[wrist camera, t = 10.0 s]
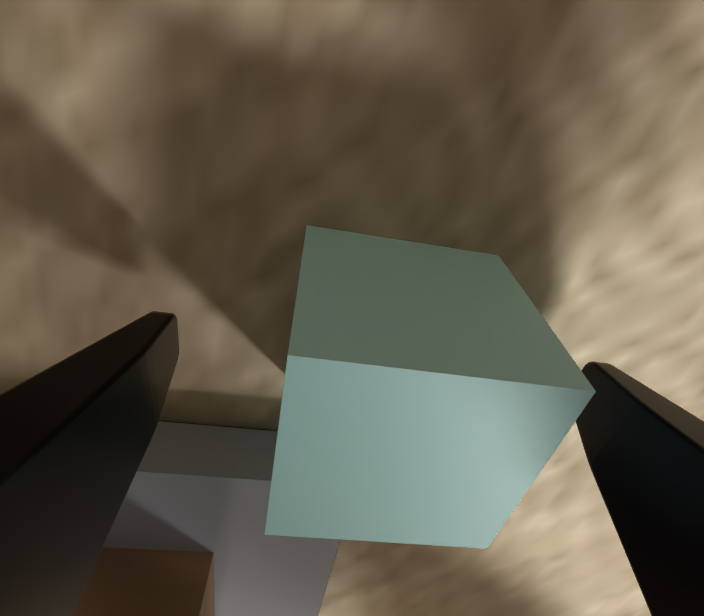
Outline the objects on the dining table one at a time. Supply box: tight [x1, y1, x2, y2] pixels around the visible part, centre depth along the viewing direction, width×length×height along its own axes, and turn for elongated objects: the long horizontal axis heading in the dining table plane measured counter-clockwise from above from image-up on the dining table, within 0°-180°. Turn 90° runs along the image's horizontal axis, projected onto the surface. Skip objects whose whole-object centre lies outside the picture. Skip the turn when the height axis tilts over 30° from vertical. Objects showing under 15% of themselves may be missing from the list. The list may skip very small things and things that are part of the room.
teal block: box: [265, 225, 596, 549], centre depth 8 cm, size 4×4×4 cm
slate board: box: [103, 421, 340, 616], centre depth 14 cm, size 12×12×2 cm
